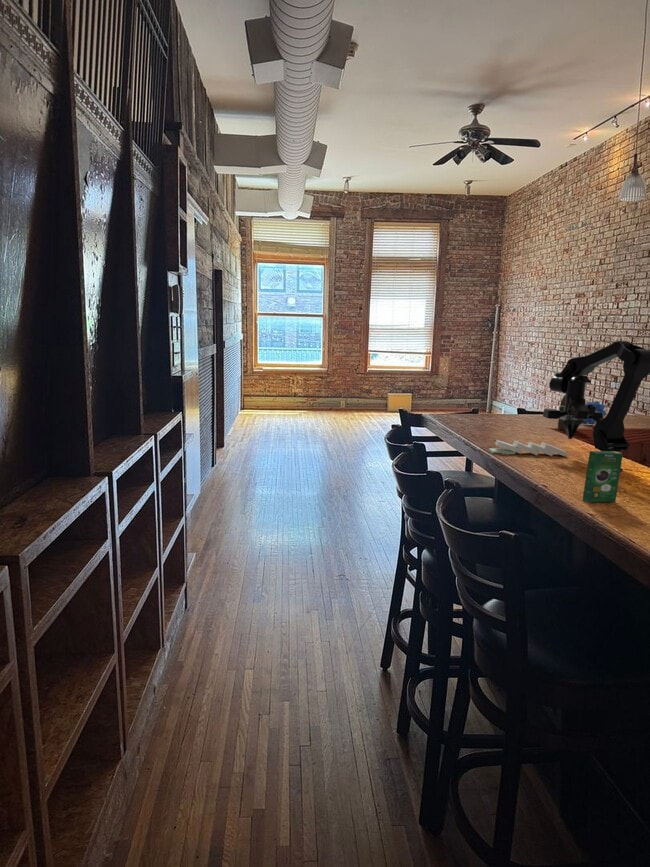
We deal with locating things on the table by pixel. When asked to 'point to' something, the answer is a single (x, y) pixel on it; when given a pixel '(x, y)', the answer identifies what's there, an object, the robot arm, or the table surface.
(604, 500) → the coffee box
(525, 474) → the table surface
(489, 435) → the table surface
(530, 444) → the domino
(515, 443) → the domino
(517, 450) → the domino
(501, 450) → the domino
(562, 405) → the beer bottle
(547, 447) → the domino
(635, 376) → the robot arm
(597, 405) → the grapes
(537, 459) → the table surface
